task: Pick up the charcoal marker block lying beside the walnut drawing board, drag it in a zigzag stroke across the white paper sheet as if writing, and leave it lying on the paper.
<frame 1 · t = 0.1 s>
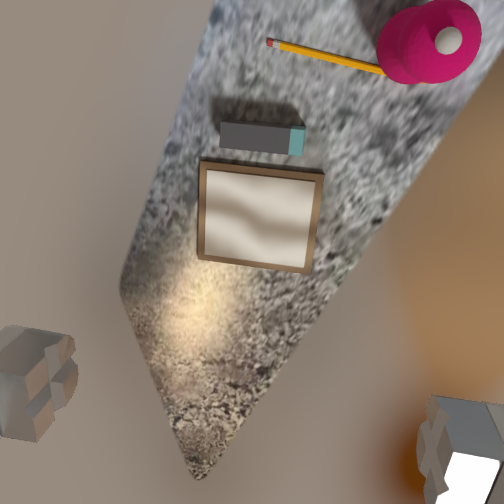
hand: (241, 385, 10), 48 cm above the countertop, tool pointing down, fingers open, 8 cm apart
board: (257, 218, 60), on the countertop
pencil: (349, 62, 51), on the countertop
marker: (264, 135, 55), on the countertop
pepper mill: (406, 47, 49), on the countertop
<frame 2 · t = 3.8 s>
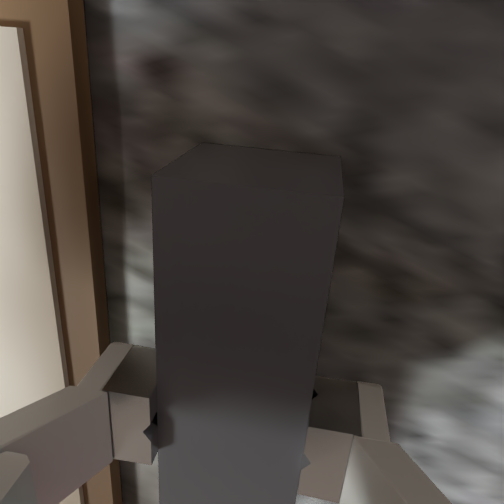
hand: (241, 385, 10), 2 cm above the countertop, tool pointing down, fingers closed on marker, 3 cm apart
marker: (253, 342, 12), on the countertop, touching gripper
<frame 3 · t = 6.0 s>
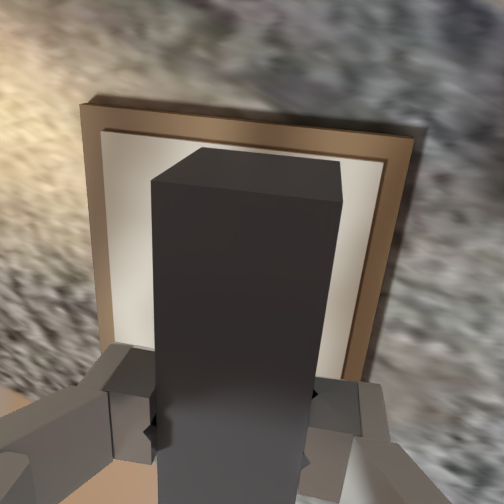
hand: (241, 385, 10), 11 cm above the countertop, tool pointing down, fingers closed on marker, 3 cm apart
board: (231, 284, 22), on the countertop
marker: (253, 346, 12), point 10 cm above the countertop, touching gripper
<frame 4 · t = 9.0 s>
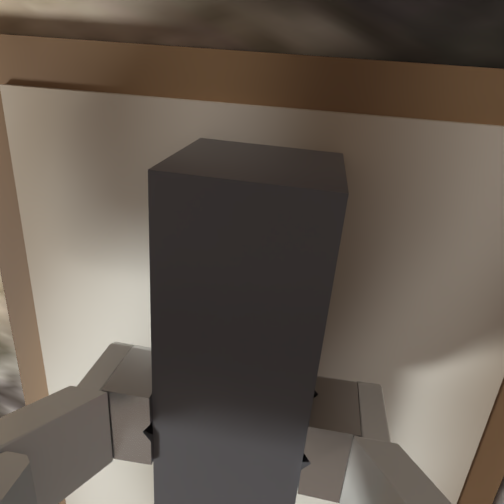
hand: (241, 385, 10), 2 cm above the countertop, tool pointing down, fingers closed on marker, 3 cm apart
board: (255, 363, 12), on the countertop
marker: (251, 343, 11), point 1 cm above the countertop, touching gripper
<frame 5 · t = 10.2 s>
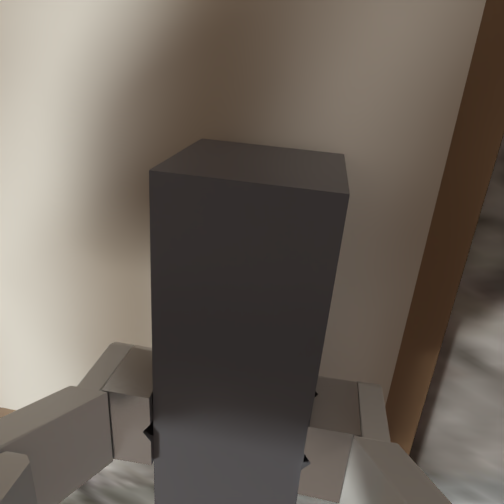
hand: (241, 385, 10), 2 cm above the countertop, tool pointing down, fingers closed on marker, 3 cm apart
board: (175, 213, 11), on the countertop
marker: (252, 344, 11), point 1 cm above the countertop, touching gripper
when the fingers open (2 cm above the countertop, at t = 11.7 s): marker stays where it is, resting on board.
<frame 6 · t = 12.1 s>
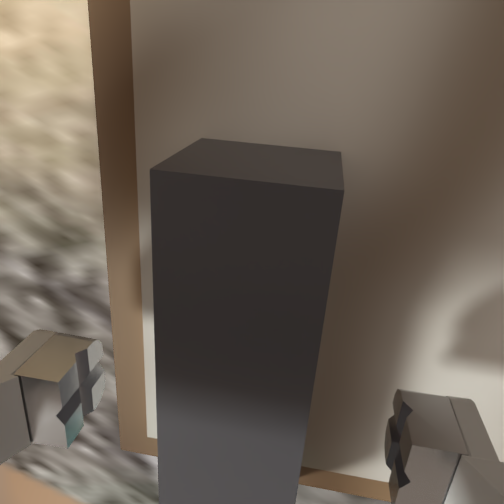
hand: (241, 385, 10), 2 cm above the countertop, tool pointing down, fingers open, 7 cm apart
board: (389, 241, 11), on the countertop
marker: (253, 339, 11), point 1 cm above the countertop, touching board
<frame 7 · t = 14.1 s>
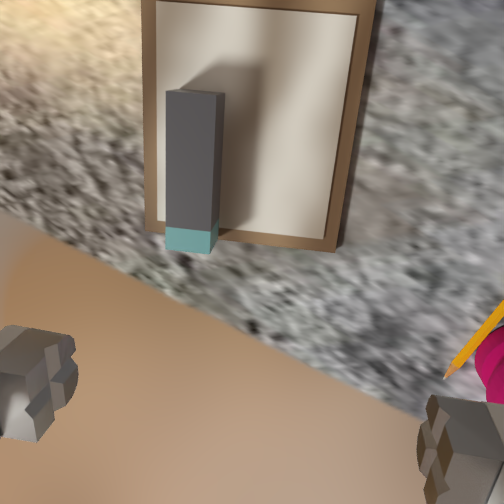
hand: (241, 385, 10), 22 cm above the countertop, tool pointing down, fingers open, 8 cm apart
board: (247, 127, 30), on the countertop
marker: (199, 168, 30), point 1 cm above the countertop, touching board
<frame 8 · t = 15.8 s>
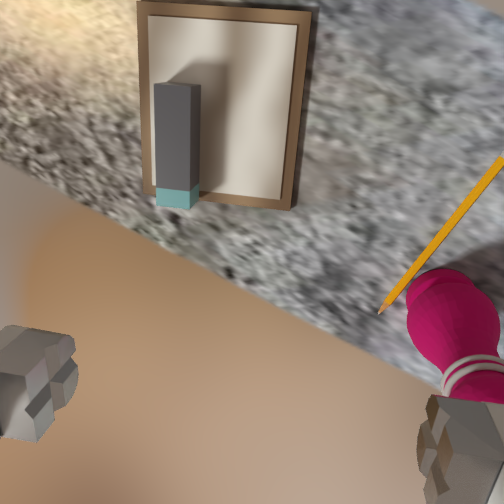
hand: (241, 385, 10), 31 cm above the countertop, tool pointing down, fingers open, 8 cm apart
board: (219, 111, 38), on the countertop
pencil: (438, 235, 40), on the countertop
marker: (183, 143, 39), point 1 cm above the countertop, touching board
pepper mill: (439, 296, 42), on the countertop
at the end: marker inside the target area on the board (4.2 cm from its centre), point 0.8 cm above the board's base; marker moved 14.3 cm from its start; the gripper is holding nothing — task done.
